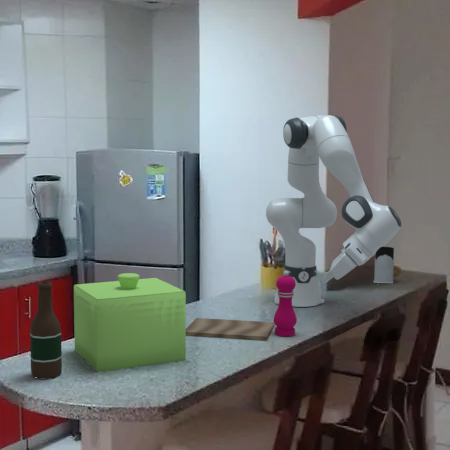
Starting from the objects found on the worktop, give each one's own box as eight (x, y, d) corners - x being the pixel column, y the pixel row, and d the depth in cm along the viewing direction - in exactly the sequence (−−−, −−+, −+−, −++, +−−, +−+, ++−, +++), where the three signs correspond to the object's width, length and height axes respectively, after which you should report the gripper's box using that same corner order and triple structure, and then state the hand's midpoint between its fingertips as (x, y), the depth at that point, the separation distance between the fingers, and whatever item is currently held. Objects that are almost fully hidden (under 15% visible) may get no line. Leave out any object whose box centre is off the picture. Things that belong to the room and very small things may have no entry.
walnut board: (183, 335, 230) (183, 331, 229) (196, 321, 247) (196, 317, 247) (266, 340, 225) (266, 336, 224) (274, 325, 242) (274, 322, 242)
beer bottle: (33, 370, 194) (31, 279, 191) (63, 369, 195) (62, 279, 192) (28, 380, 187) (26, 285, 184) (59, 379, 187) (58, 285, 184)
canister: (97, 372, 193) (96, 284, 191) (74, 351, 212) (73, 271, 210) (185, 360, 205) (185, 277, 202) (156, 341, 224) (156, 265, 221)
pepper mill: (295, 337, 228) (296, 273, 226) (271, 336, 230) (272, 272, 227) (297, 331, 235) (299, 269, 233) (274, 330, 237) (276, 268, 234)
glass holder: (373, 284, 312) (374, 249, 310) (372, 278, 326) (373, 244, 324) (394, 285, 311) (396, 249, 309) (392, 279, 325) (394, 245, 323)
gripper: (350, 238, 236) (318, 267, 239) (348, 247, 216) (313, 279, 219) (364, 253, 235) (332, 282, 238) (363, 263, 215) (328, 295, 218)
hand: (323, 280), depth 228 cm, fingers closed
